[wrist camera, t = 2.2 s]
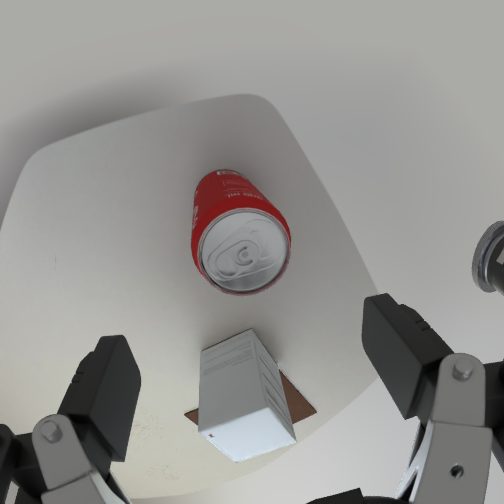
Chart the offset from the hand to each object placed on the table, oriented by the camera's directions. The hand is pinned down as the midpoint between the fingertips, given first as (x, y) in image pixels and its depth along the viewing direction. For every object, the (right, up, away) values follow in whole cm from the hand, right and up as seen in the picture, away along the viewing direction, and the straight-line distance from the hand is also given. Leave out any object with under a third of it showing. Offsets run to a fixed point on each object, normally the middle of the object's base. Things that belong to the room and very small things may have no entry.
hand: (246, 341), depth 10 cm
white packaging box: (-1, -10, +28) cm, 30 cm away
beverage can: (-2, +8, +21) cm, 22 cm away
